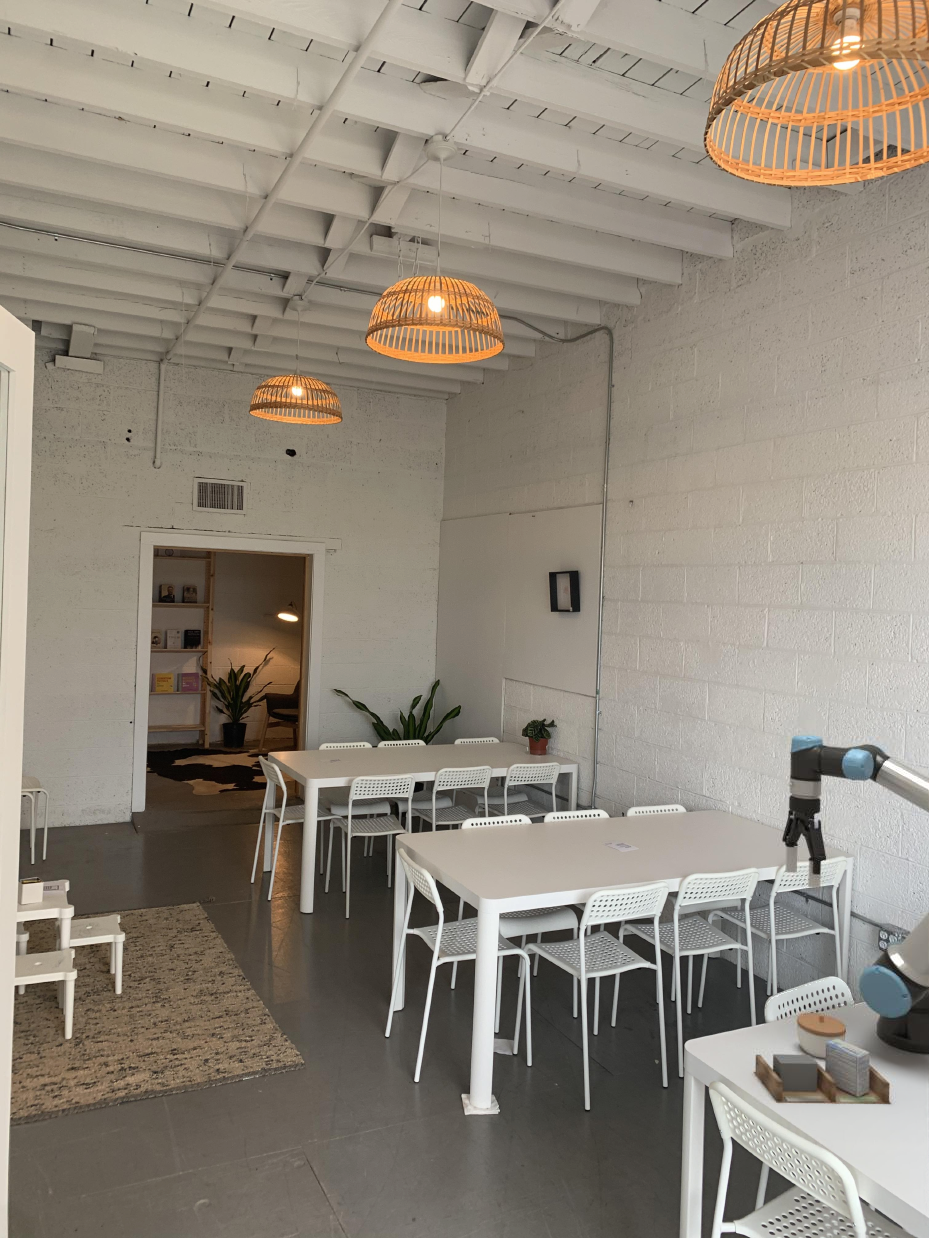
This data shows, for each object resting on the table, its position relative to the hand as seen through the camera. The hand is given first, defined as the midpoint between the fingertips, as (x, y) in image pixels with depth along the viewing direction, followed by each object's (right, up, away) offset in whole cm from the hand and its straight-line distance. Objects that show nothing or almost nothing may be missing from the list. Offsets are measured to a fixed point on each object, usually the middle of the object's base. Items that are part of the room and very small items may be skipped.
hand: (802, 879), depth 226 cm
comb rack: (-10, -36, -35) cm, 51 cm away
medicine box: (-4, -35, -35) cm, 50 cm away
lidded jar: (-3, -37, -18) cm, 41 cm away
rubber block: (-15, -34, -36) cm, 52 cm away
